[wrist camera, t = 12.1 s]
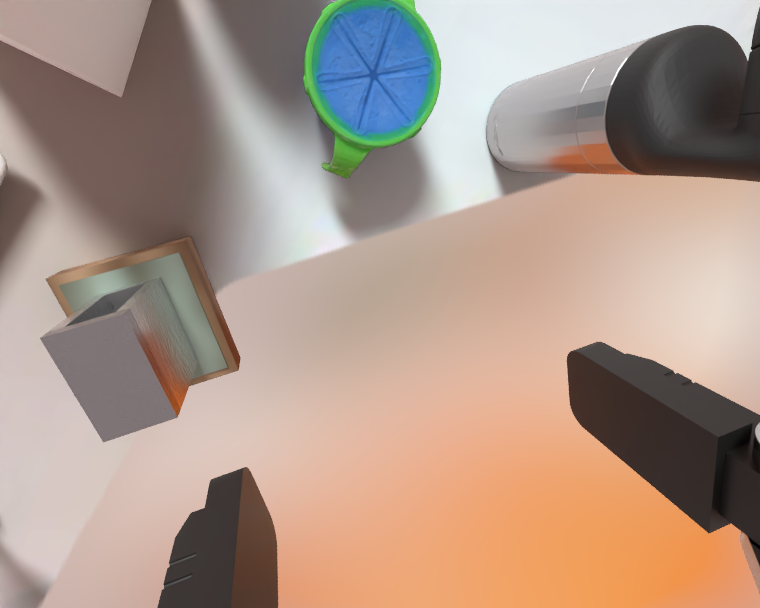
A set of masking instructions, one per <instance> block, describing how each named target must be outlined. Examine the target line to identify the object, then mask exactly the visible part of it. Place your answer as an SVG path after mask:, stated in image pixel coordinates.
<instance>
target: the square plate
mask: <svg viewBox="0 0 760 608" xmlns="http://www.w3.org/2000/svg"><path fill="white" fill-rule="evenodd" d="M6 173H7V163H6V159H5V157H4V156H3V155H2V154H1V153H0V185H1V183H2V181H3V179H4V177H5V175H6Z"/></svg>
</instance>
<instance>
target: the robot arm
mask: <svg viewBox="0 0 760 608" xmlns="http://www.w3.org/2000/svg"><path fill="white" fill-rule="evenodd" d="M751 50H753V51H752V52H750V55H749V60H748V61H747V58H746V56H745V54H744V52H743V50H742V48H741V46H740V45H739V44H738V42H737V41H736V40H735V39H734V38H733V37H732V36H731V35H730V34H728V33H727V32H726V31H724V30H722V29H720V28H717V27H714V26H709V25H693V26H687V27H683V28H679V29H676V30H673V31H670V32H667V33H664V34H661V35H658V36H656V37H653V38H649V39H646V40H643V41H640V42H637V43H634V44H631V45H628V46H626V47H623V48H620V49H617V50H614V51H611V52H608V53H605V54H602V55H599V56H596V57H593V58H590V59H587V60H584V61H580V62H577V63H574V64H571V65H568V66H565V67H562V68H559V69H556V70H553V71H550V72H547V73H544V74H541V75H537V76H534V77H531V78H528V79H525V80H522V81H519V82H516V83H514V84H512V85H510V86H509V87H507V88H506V89H505V90H504V91H503V92H501V94H500V95H499V96H498V97H497V99H496V100H495V102H494V104H493V105H492V107H491V110H490V113H489V116H488V120H487V127H486V131H487V141H488V145H489V148H490V150H491V153H492V155H493V156H494V157H495V159H496V160H497V161H498V162H499V163H500V164H501V165H502V166H503V167H505V168H508V169H510V170H514V171H523V172H552V173H585V174H625V175H626V174H627V175H628V174H629V175H667V176H693V177H711V178H725V179H737V180H747V181H758V182H760V8H759V12H758V15H757V20H756V24H755V29H754V34H753V39H752V47H751ZM567 368H568V382H569V397H570V405H571V409H572V412H573V414H574V416H575V418H576V419H577V421H578V422H579V423H580V425H581V426H582V427H583V428H585V429H586V430H587V431H588V432H589V433H591V434H592V435H593V436H594V437H595V438H596V439H598V440H599V441H600V442H601V443H603V445H605V446H606V447H607V448H608V449H610V450H611V451H612V452H613V453H614V454H615V455H617V456H618V457H619V458H620V459H621V460H622V461H624V462H625V463H626V464H627V465H628V466H630V467H631V468H632V469H633V470H634V471H636V472H637V473H638V474H639V475H640V476H641V477H643V478H644V479H645V480H646V481H647V482H649V483H650V484H651V485H652V486H653V487H655V488H656V489H657V490H658V491H659V492H661V493H662V494H663V495H664V496H665V497H666V498H668V499H669V500H670V501H671V502H672V503H674V504H675V505H676V506H677V507H678V508H679V509H681V510H682V511H683V512H684V513H685V514H687V515H688V516H689V517H690V518H691V519H693V520H694V521H695V522H696V523H697V524H699V525H700V526H701V527H702V528H703V529H705V530H706V531H707V532H708V533H711V532H713V531H715V530H717V529H720V528H722V527H724V526H726V525H728V524H730V523H732V524H733V525H734V526H735V527H737V528H738V529H739V530H741V545H742V548H743V551H744V553H745V556H746V559H747V561H748V564H749V567H750V569H751V572H752V575H753V577H754V580H755V582H756V585H757V588H758V590H759V593H760V415H758V414H756V413H754V412H752V411H751V410H749V409H747V408H745V407H743V406H741V405H739V404H737V403H735V402H733V401H731V400H729V399H727V398H725V397H723V396H721V395H719V394H717V393H715V392H713V391H711V390H710V389H708V388H706V387H704V386H702V385H700V384H698V383H692V382H691V380H690V379H688V378H686V377H684V376H682V375H680V374H678V373H677V374H675V373H674V372H673V371H672V370H671V369H669V368H667V367H665V366H663V365H661V364H659V363H657V362H655V361H653V360H650V359H646V358H642V357H638V356H635V355H631V354H623V353H622V352H620V351H618V350H616V349H614V348H612V347H610V346H609V345H607V344H605V343H602V342H596V343H593V344H590V345H588V346H585V347H582V348H579V349H577V350H574V351H571V352H570V353H569V354H568V356H567ZM169 564H170V567H169V568H168V569H167V573H166V577H165V581H164V589H163V590H162V593H161V596H160V600H159V604H158V608H278V580H277V579H278V576H277V540H276V534H275V529H274V525H273V522H272V518H271V516H270V514H269V511H268V509H267V507H266V505H265V502H264V500H263V498H262V496H261V494H260V491H259V489H258V487H257V485H256V483H255V480H254V478H253V476H252V474H251V472H250V471H249V469H248V468H247V467H245V468H242V469H239V470H236V471H234V472H231V473H228V474H225V475H222V476H220V477H217V478H214V479H212V480H211V481H210V484H209V489H208V494H207V500H206V505H205V508H204V509H200V510H198V511H195V512H192V513H191V514H190V515H189V517H188V519H187V520H186V522H185V523H184V525H183V526H182V528H181V530H180V531H179V533H178V534H177V536H176V537H175V541H174V545H173V549H172V554H171V557H170V561H169Z"/></svg>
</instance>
